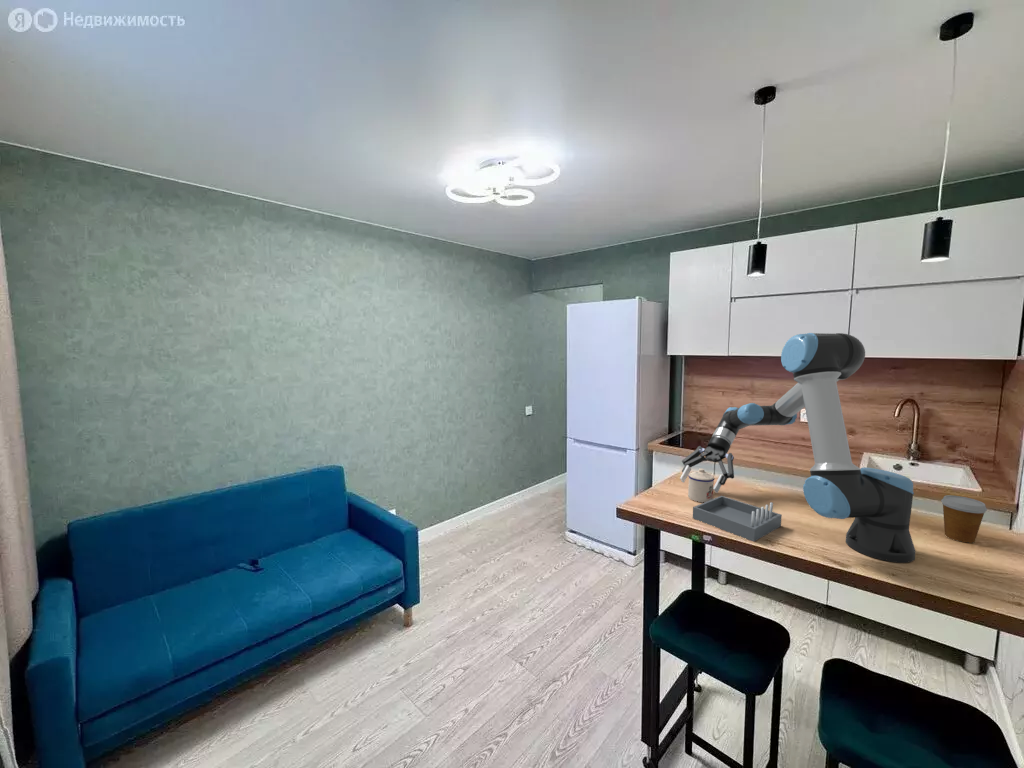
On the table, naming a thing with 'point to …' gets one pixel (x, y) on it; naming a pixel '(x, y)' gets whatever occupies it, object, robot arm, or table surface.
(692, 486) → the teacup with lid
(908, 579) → the table surface
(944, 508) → the disposable coffee cup
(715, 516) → the dish rack
